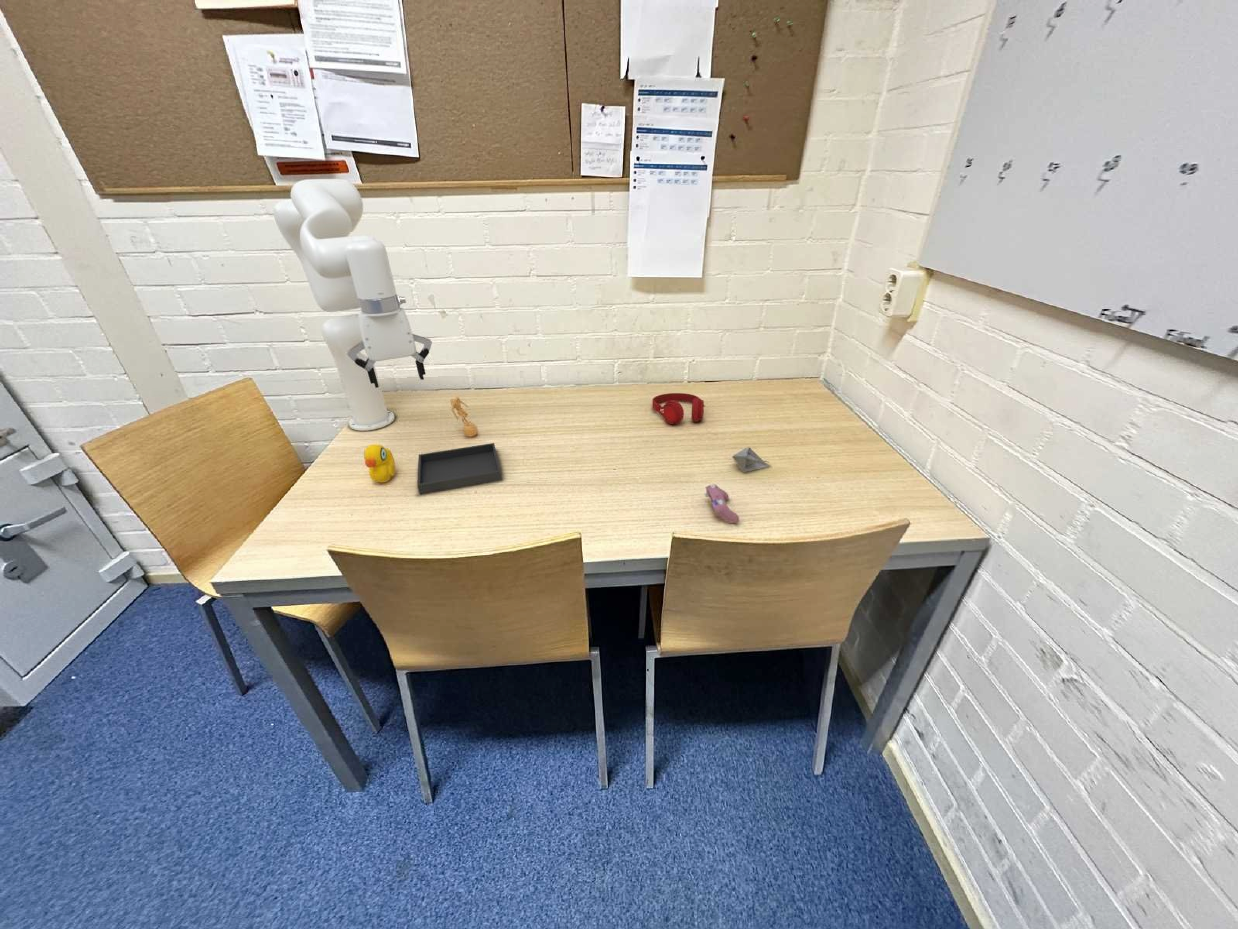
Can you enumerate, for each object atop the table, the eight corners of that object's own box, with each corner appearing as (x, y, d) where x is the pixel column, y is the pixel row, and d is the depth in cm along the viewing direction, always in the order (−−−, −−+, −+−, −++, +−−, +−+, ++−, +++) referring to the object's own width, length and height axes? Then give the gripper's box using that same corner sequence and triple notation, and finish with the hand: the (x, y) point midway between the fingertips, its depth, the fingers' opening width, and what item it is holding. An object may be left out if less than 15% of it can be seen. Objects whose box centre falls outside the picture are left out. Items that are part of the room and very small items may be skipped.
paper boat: (749, 450, 130) (782, 453, 124) (745, 474, 130) (777, 478, 123) (725, 441, 121) (760, 443, 115) (721, 467, 121) (755, 471, 115)
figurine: (473, 442, 138) (466, 403, 132) (452, 442, 138) (444, 403, 132) (482, 429, 145) (475, 391, 139) (462, 429, 145) (454, 391, 139)
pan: (420, 463, 129) (418, 454, 127) (495, 451, 134) (494, 442, 132) (419, 494, 116) (417, 485, 115) (502, 480, 121) (500, 471, 120)
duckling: (388, 492, 117) (377, 455, 112) (365, 493, 117) (352, 456, 112) (402, 467, 127) (392, 432, 122) (381, 468, 127) (370, 433, 122)
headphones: (712, 423, 145) (690, 405, 163) (713, 400, 142) (690, 384, 161) (664, 428, 143) (647, 409, 161) (664, 405, 140) (646, 388, 158)
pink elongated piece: (710, 504, 114) (699, 482, 111) (728, 496, 113) (718, 474, 110) (721, 531, 106) (709, 509, 102) (741, 522, 105) (730, 499, 101)
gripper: (419, 296, 110) (435, 370, 119) (333, 306, 103) (357, 383, 112) (425, 303, 104) (441, 380, 113) (334, 314, 97) (359, 394, 106)
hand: (399, 381), depth 112 cm, fingers open, 9 cm apart
